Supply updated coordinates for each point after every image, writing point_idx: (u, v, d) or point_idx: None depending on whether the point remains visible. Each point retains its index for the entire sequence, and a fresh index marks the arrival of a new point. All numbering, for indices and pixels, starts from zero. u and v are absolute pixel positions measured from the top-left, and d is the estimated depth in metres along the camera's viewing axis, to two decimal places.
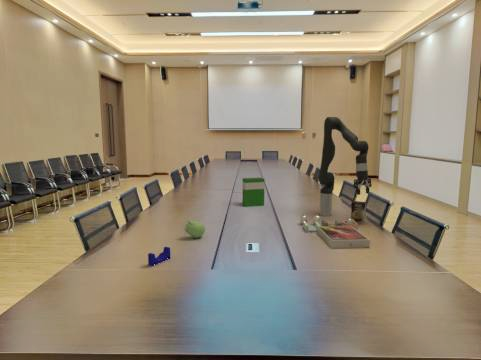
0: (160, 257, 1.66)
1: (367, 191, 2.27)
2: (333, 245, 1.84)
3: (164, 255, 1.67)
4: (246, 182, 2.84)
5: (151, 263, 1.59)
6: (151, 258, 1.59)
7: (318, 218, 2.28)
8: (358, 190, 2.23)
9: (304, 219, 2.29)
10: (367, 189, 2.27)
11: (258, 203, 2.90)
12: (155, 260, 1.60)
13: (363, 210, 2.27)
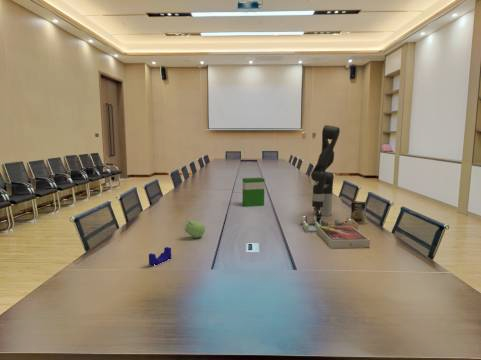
0: (161, 257, 1.66)
1: None
2: (333, 245, 1.85)
3: (165, 255, 1.66)
4: (246, 182, 2.84)
5: (152, 263, 1.59)
6: (151, 258, 1.59)
7: None
8: None
9: (304, 219, 2.29)
10: None
11: (258, 203, 2.90)
12: (156, 260, 1.60)
13: (363, 210, 2.27)
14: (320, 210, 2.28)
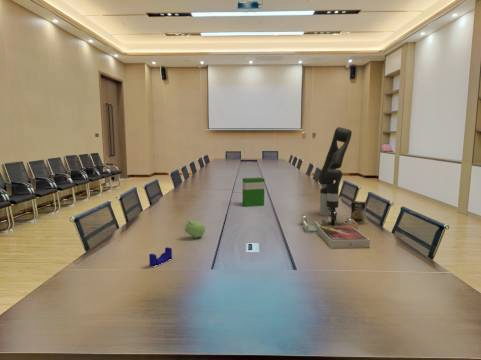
0: (161, 258, 1.66)
1: None
2: (333, 245, 1.85)
3: (165, 256, 1.66)
4: (246, 182, 2.84)
5: (152, 264, 1.59)
6: (152, 258, 1.58)
7: None
8: None
9: (304, 219, 2.29)
10: None
11: (258, 203, 2.90)
12: (156, 261, 1.59)
13: (363, 210, 2.27)
14: (335, 211, 2.16)
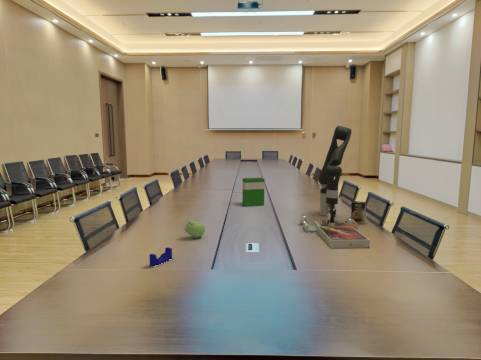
0: (162, 258, 1.66)
1: None
2: (333, 245, 1.85)
3: (166, 256, 1.66)
4: (246, 182, 2.84)
5: (152, 264, 1.58)
6: (152, 259, 1.58)
7: None
8: None
9: (304, 219, 2.29)
10: None
11: (258, 203, 2.90)
12: (156, 261, 1.59)
13: (363, 210, 2.27)
14: (334, 207, 2.16)
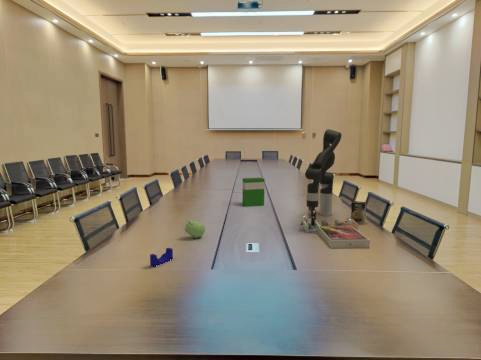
0: (162, 258, 1.65)
1: None
2: (333, 245, 1.85)
3: (166, 256, 1.65)
4: (246, 182, 2.84)
5: (153, 264, 1.58)
6: (152, 259, 1.58)
7: None
8: None
9: (304, 219, 2.29)
10: None
11: (258, 203, 2.90)
12: (157, 261, 1.59)
13: (363, 210, 2.27)
14: (315, 210, 2.16)
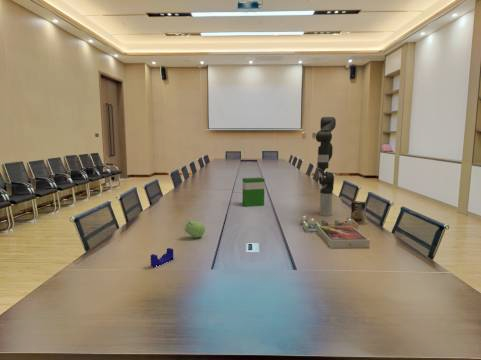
0: (163, 258, 1.65)
1: None
2: (332, 245, 1.85)
3: (167, 256, 1.65)
4: (246, 182, 2.84)
5: (153, 264, 1.58)
6: (153, 259, 1.57)
7: (313, 220, 2.17)
8: None
9: (304, 219, 2.29)
10: None
11: (258, 203, 2.90)
12: (157, 261, 1.59)
13: (363, 210, 2.27)
14: None
